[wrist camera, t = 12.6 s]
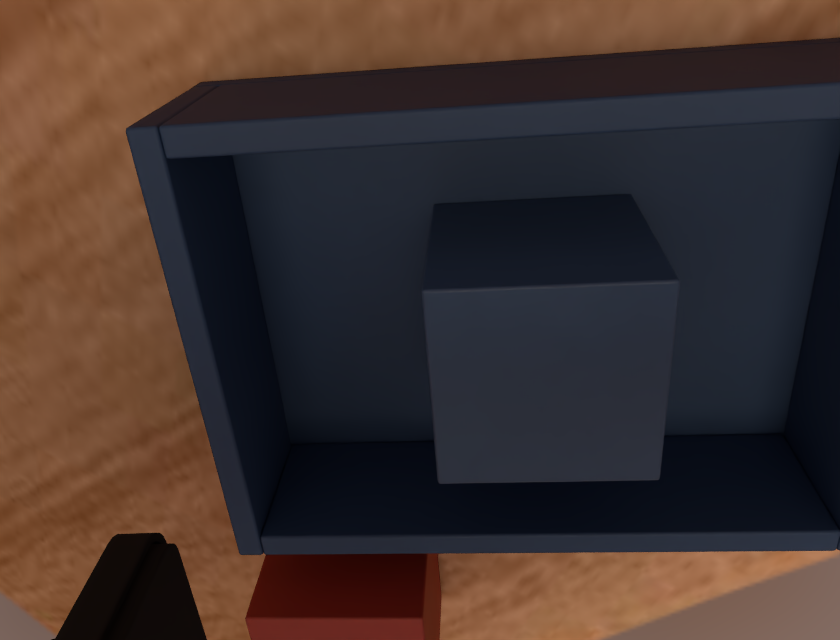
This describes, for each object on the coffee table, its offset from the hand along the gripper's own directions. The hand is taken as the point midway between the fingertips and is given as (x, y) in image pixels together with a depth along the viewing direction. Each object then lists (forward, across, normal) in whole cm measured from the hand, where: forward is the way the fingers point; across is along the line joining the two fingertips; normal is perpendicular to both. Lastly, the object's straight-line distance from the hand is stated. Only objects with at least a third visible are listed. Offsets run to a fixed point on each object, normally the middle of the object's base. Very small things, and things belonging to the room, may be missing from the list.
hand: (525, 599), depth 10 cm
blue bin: (+9, -1, 0) cm, 9 cm away
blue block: (+9, -1, 0) cm, 9 cm away
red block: (+10, +4, +9) cm, 14 cm away
